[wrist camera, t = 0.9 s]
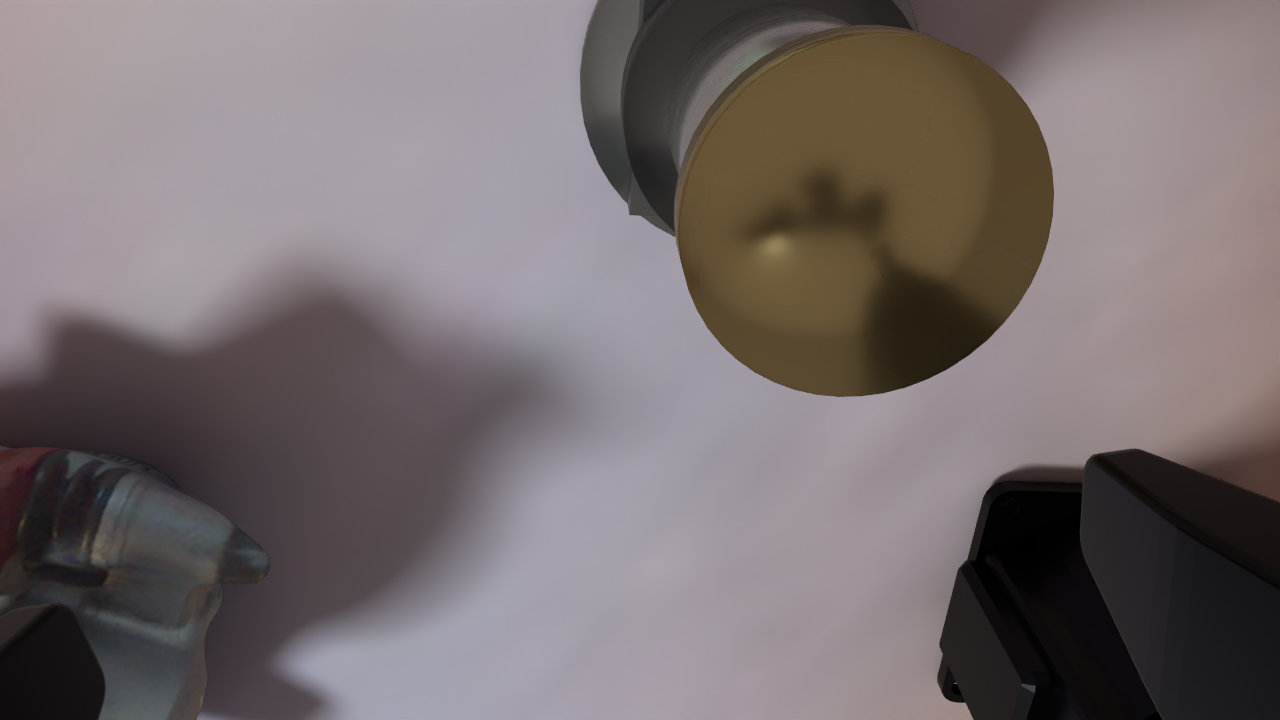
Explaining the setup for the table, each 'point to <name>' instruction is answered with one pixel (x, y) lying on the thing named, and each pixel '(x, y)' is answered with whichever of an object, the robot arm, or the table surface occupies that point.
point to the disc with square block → (601, 82)
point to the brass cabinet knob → (835, 186)
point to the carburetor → (122, 569)
